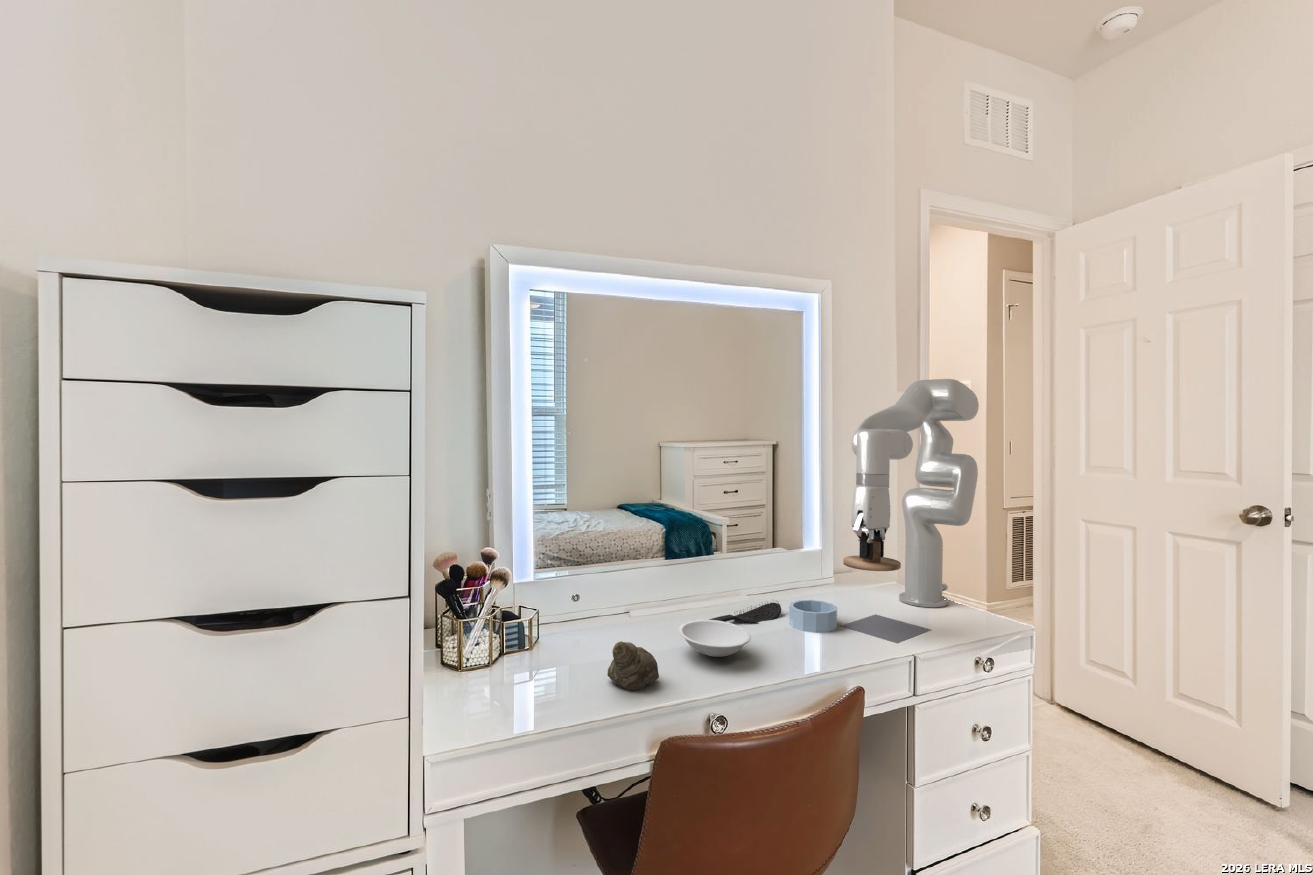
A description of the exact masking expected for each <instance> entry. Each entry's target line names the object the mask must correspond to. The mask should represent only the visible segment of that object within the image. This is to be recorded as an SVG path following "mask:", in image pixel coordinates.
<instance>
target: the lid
mask: <svg viewBox="0 0 1313 875" xmlns="http://www.w3.org/2000/svg"><path fill="white" fill-rule="evenodd" d="M871 543H873V559H872V560H868V559H863V558H860V557H859V554H857V555H849V556H845V557H843V561H842V562H843V565H844V566H845V567H847V568H851V569H856V570H861V571H871V572H893V571H898V570H900V569H901V568H902V564H901V561H900V560H897V559H894V558H891V557H885V556H883V557H881V542H877V541H871Z"/></svg>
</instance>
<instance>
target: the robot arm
mask: <svg viewBox="0 0 1313 875" xmlns="http://www.w3.org/2000/svg"><path fill="white" fill-rule="evenodd" d="M979 406H980V405H979V399H978V396H977V395H976V393H975V392H974V391H973V390H972V389H971V388H970V387H969V386H967V385H965V383H963V382H961V381H960V380H957V379H954V378H941V379H940V378H937V379H935V378H934V379H921V380H917V381H914V382H912V383H911V384H910V385H908V387H907V388H906V390H905V391H904V392H903V393H902V395H901V396H900V397H899V399H898V400H897V401H896V403H895V404H893V405H890V406H888V407H886V408H883V409H881V410H880V411H878V412H875V413H873V414H871V415H869V416H867V418H865V419H864V420H863V421H862V422H861V423H860V425H858V427H857V428H856V430H855V431H854V433H853V435H852V438H851V449H852V451H853V454H854V455H855V456H856V468H855V469H856V470H855V471H856V473H855V475H856V476H855V483H856V484H855V487H854V491H853V497H852V504H851V505H852V506H851V517H850V518H851V523H850V524H851V527H852V529H853V531H852V532H854V534H855V535H856V536H857V540H858V542H859V554H858V555H859V557H860V558H863V559H868V560H872V559H873V543H871V541H877V542H881V557H885V556H884V555H885V553H884V551H885V545H884V544H885V542H884V541H885V540H886V534H887V531H888V530H889V528H890V526H891V525H890V522H891V500H890V499H891V498H890V489H889V488H890V470H891V469H890V467H891V466H890V465H891V464H890V462H891V460H894V461H895V460H903V459H905V458H907V457H909V456H910V454H911V453H912V450H913V448H914V447H913V446H914V443H913V442H914V441H913V439H912V436H911V435H910V433H909V432H912V431H914V430H918V429H919V432H920V437H921V438H920V445H919V449H918V454H917V459H916V463H915V464H916V465H915V469H914V470H915V472H914V477H915V480H916V482H918V483H919V484H920V485H923V486H928V487H914V488H910V489H909V490H907V491H906V492H905V493H904V494H903V495H902V496H903V497H902V500H901V505H902V506H901V507H902V512H903V517H904V518H903V519H904V526H905V527H904V528H905V529H904V530H905V545H904V546H905V547H904V548H905V553H904V554H905V555H904V557H905V558H904V560H905V562H904V565H905V566H904V568H905V569H904V591H903V592H901V593H899V595H898V600H900V602H902V603H904V604H907V605H911V606H916V607H921V608H943V607H946V606H948V604H949V599H948V598H947V597H945V596H944V595H943V592H945V591H947V590H948V587H949V586H948V585H947V584H946V583H943V560H944V559H943V551H944V550H943V549H944V548H943V547H944V542H943V536H942V534H941V532H940V531H939V529H938V527H937V526H936V525H944V526H952V527H953V526H955V527H960V526H961V527H962V526H965V525H967V524H968V523H969V521H970V519H971V516H972V512H973V507H974V501H975V495H976V488H977V483H978V476H979V469H978V464H977V461H976V459H975V458H974V457H973V456H972V455H969V454H965V453H953V447H954V437H953V436H952V434H951V432H950V431H949V430H948V429H947V428H946V427H945V425H943V423H942V422H966V421H971V420H973V419H974V418H975V417H976V416H977V415H978V411H979V409H980V408H979ZM931 487H932V488H931ZM935 487H936V488H935ZM941 488H951V489H941ZM944 599H946V600H944Z"/></svg>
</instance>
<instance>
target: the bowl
mask: <svg viewBox="0 0 1313 875" xmlns="http://www.w3.org/2000/svg"><path fill="white" fill-rule="evenodd" d="M788 608H789V612H788V613H789V614H788V615H789V616H788V621H789V622H788V624H789V625H790V627H792V629H795V630H799V631H802V632H807V633H814V634H815V633H816V634H820V633H821V634H822V633H830V632H833V631H836V630H837V628H838V606H836V605H835V604H834V603H831V602H827V601H823V600H815V599H814V600H813V599H799V600H794V601H791V603H790V604H789V607H788Z"/></svg>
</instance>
